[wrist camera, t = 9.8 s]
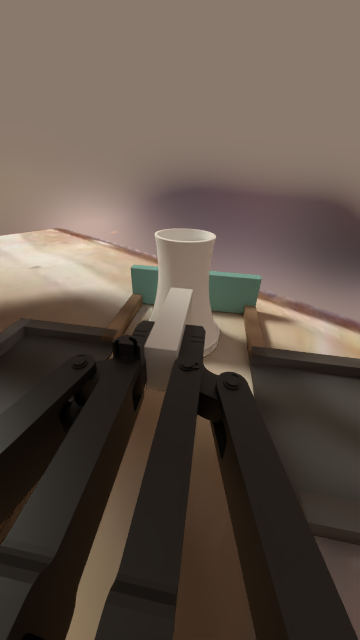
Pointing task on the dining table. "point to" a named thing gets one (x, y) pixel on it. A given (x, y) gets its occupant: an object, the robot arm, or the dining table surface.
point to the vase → (187, 275)
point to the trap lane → (270, 395)
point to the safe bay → (223, 288)
